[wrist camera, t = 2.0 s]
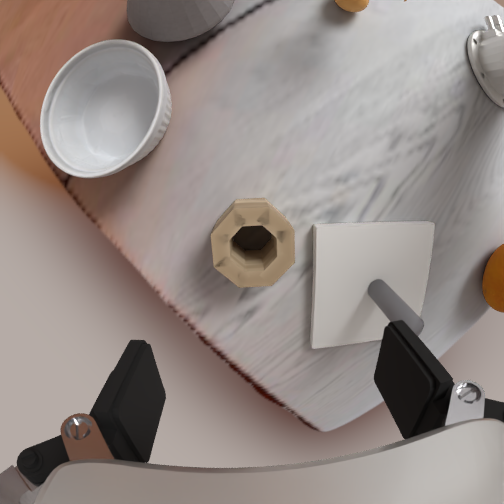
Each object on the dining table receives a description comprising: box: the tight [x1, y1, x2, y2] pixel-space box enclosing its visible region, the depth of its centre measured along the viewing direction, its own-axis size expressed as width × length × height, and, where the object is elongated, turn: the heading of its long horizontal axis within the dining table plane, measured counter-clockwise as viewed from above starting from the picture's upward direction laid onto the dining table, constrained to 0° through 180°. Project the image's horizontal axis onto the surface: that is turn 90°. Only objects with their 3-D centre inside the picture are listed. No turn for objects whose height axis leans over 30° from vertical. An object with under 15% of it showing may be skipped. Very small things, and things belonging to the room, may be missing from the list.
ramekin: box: [40, 39, 172, 178], centre depth 23 cm, size 13×13×7 cm
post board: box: [310, 221, 435, 349], centre depth 27 cm, size 15×15×10 cm
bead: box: [211, 198, 295, 288], centre depth 27 cm, size 7×7×6 cm
